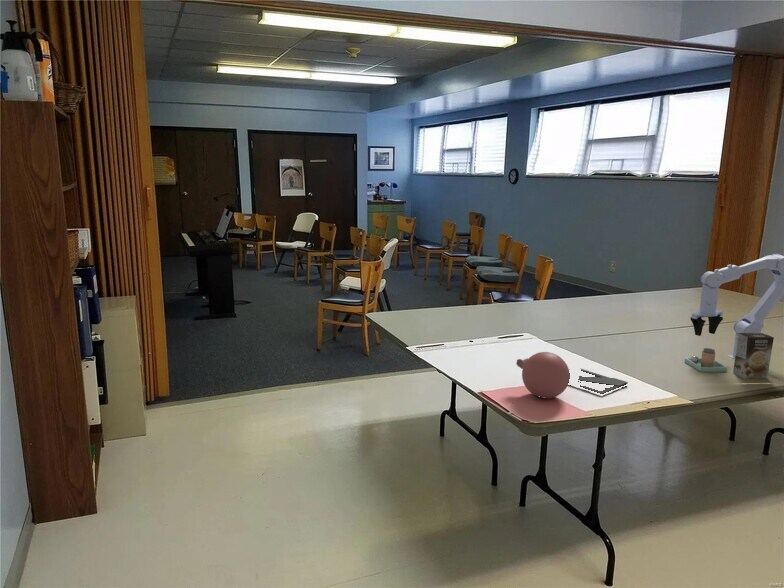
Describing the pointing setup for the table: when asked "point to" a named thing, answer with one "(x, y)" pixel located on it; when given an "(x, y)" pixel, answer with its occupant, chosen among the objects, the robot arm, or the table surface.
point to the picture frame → (602, 381)
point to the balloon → (544, 374)
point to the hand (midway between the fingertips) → (704, 334)
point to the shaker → (708, 357)
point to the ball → (694, 359)
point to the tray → (716, 367)
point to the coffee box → (753, 355)
